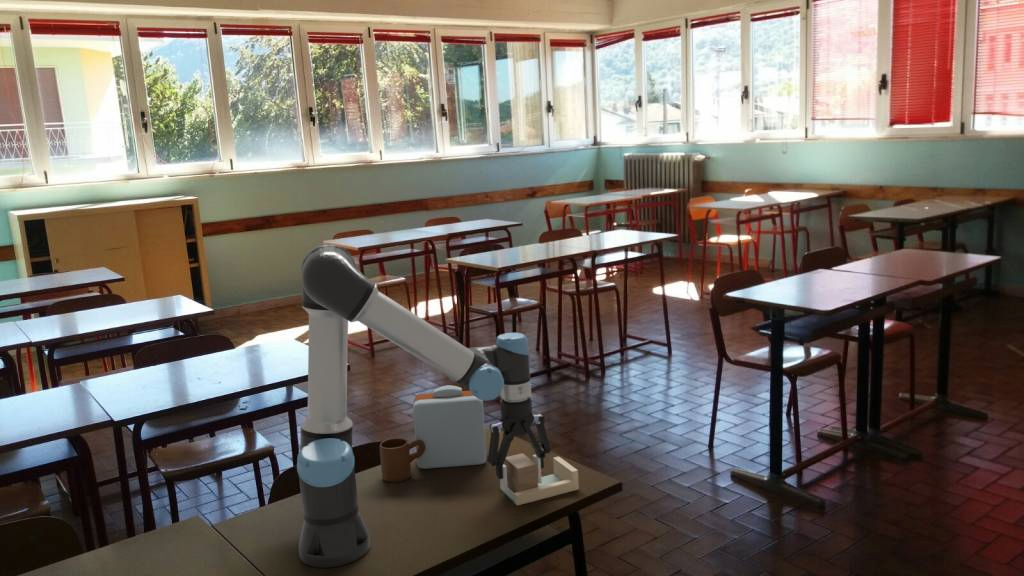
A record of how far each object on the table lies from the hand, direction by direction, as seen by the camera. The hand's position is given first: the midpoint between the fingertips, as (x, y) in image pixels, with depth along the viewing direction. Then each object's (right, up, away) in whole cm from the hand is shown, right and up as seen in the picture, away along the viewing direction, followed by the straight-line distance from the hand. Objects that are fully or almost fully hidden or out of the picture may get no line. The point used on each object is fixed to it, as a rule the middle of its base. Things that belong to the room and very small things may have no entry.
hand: (521, 485), depth 199 cm
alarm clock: (-18, +1, +22) cm, 28 cm away
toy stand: (+4, -1, +1) cm, 5 cm away
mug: (-30, -1, +14) cm, 34 cm away
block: (0, -1, 0) cm, 1 cm away
